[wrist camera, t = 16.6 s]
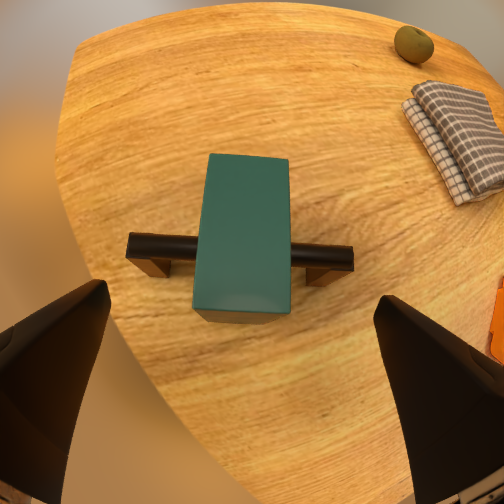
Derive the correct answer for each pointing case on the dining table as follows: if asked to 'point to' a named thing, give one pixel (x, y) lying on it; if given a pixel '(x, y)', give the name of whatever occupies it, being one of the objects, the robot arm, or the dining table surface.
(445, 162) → the towel
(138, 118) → the dining table surface
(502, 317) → the bracket
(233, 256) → the dark green block
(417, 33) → the apple
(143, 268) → the dark pull handle
